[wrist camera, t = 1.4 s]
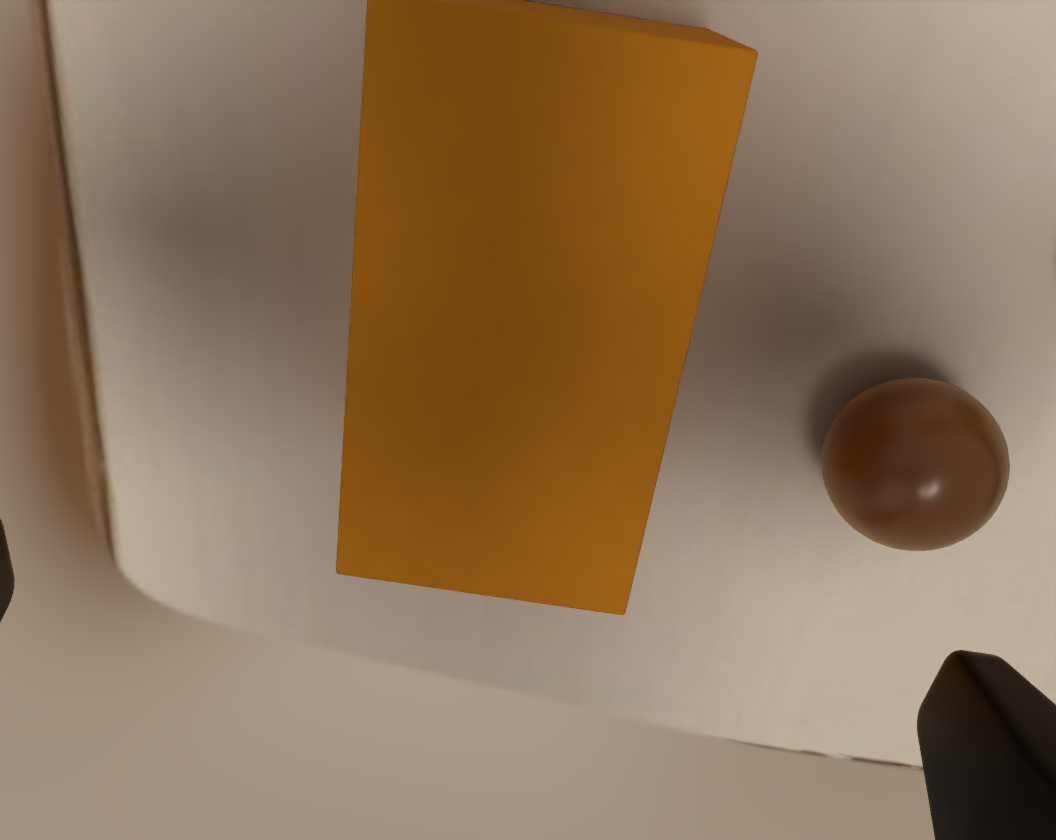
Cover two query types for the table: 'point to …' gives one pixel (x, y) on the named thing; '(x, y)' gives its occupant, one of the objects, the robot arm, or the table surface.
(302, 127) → the table surface
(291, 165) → the table surface
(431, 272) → the sponge
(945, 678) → the robot arm
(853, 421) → the brown ball
